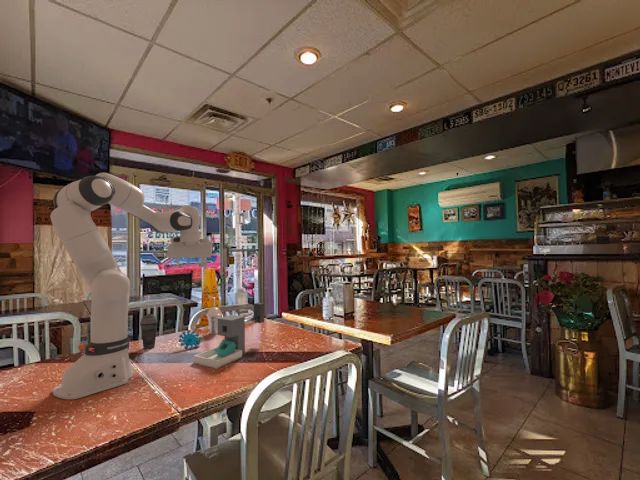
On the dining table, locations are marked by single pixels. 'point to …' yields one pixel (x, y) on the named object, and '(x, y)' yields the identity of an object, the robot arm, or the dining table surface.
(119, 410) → the dining table surface
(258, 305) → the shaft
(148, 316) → the beverage cup
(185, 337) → the teal virus model
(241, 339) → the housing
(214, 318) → the cup with straw
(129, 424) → the dining table surface
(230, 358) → the tray
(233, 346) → the spacer
